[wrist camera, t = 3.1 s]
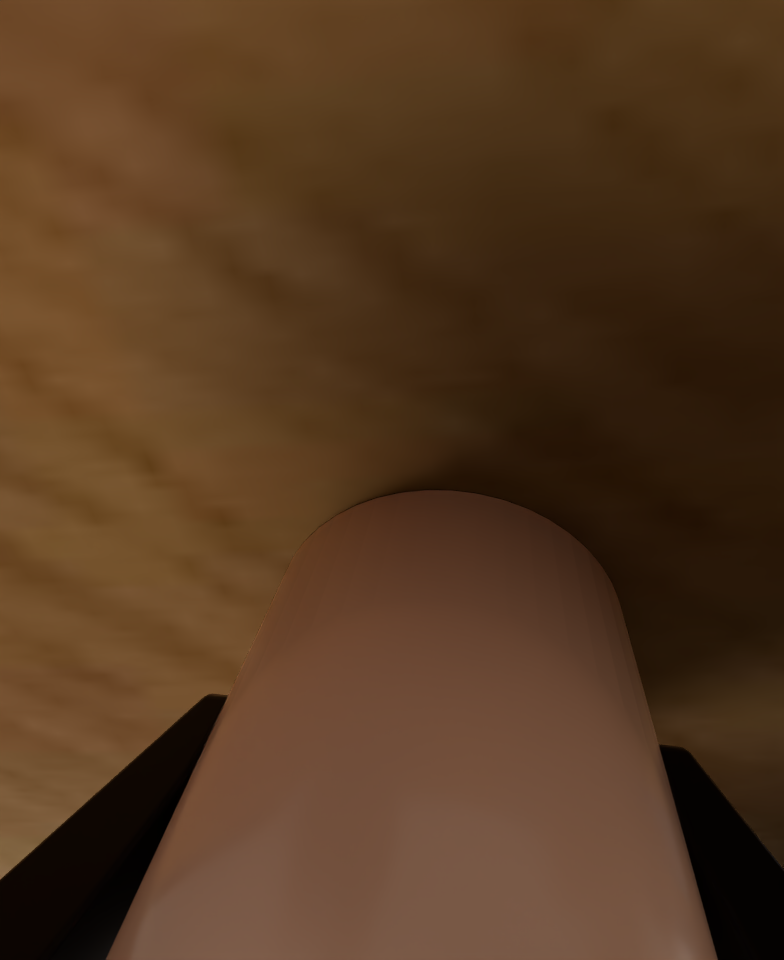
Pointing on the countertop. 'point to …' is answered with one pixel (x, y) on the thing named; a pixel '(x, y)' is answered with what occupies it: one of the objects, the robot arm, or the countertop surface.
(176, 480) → the countertop surface
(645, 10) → the countertop surface
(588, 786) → the terracotta jar
